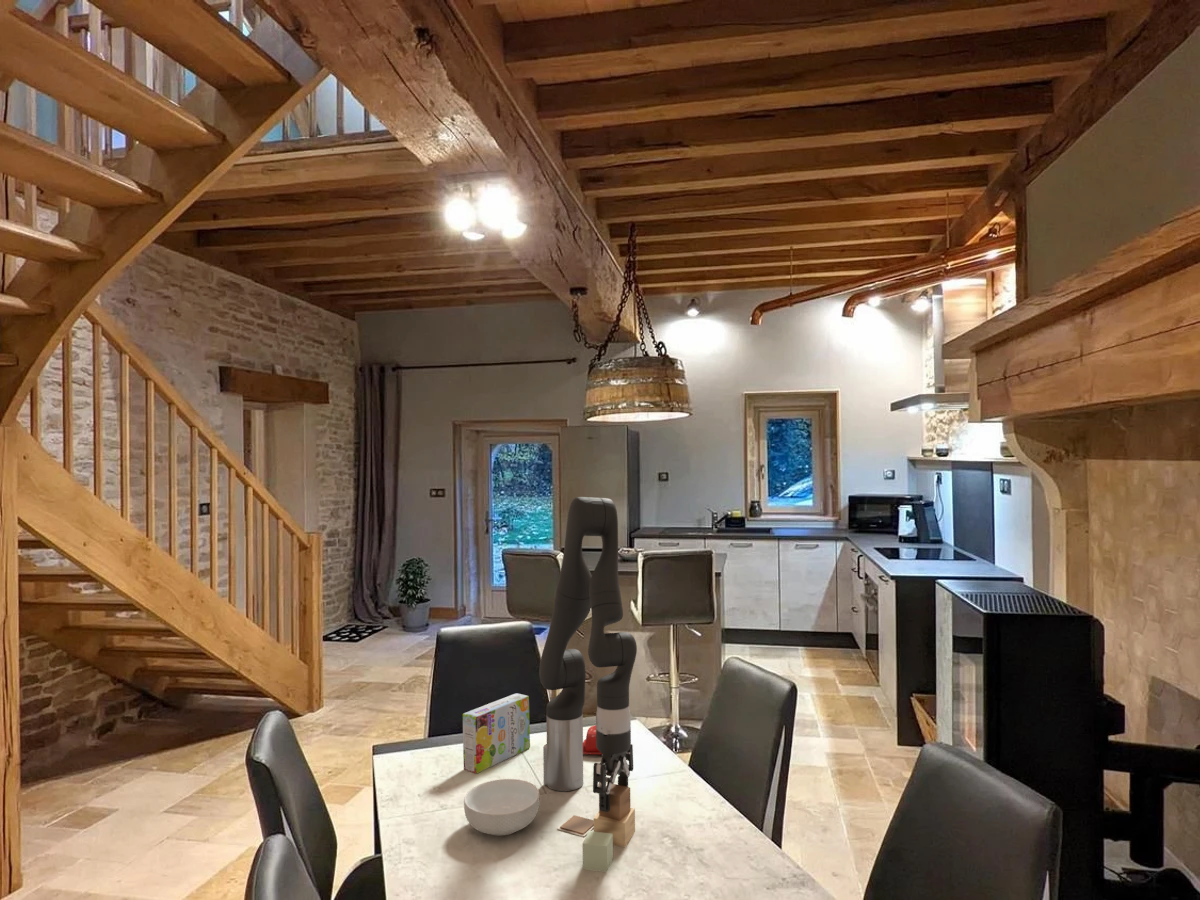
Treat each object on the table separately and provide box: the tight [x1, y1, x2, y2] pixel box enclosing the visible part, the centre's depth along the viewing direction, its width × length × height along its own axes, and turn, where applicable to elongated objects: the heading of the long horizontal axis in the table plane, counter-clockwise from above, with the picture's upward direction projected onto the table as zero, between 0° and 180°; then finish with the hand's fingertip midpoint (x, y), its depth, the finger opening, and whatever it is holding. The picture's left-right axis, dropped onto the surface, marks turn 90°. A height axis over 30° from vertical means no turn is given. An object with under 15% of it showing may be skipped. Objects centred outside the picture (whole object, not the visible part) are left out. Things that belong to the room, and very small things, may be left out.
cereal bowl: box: [463, 778, 540, 837], centre depth 154 cm, size 17×17×7 cm
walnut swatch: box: [556, 814, 594, 838], centre depth 154 cm, size 7×7×1 cm
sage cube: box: [582, 830, 614, 873], centre depth 139 cm, size 5×5×5 cm
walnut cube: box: [598, 783, 632, 821], centre depth 150 cm, size 5×5×5 cm
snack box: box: [462, 692, 531, 774], centre depth 192 cm, size 21×6×15 cm, turn 144°
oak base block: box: [593, 807, 636, 848], centre depth 149 cm, size 7×7×5 cm
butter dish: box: [583, 724, 602, 756], centre depth 197 cm, size 12×12×8 cm
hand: (614, 802), depth 150 cm, fingers open, 8 cm apart
